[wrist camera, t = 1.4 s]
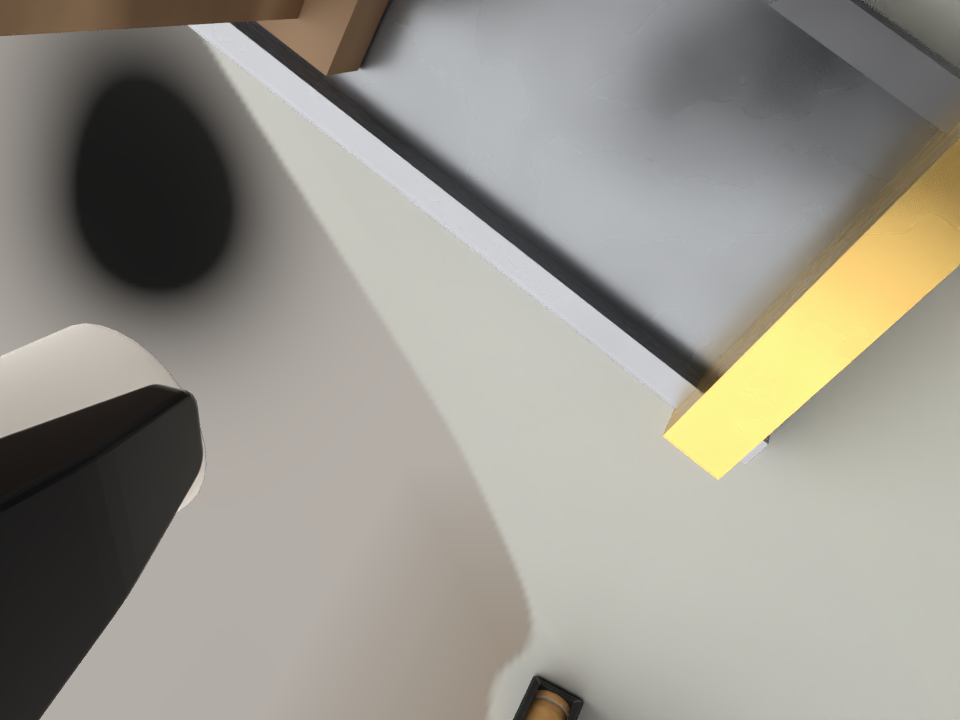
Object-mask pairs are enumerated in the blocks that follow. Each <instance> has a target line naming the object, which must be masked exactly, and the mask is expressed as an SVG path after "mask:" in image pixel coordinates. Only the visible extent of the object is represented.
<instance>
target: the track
mask: <svg viewBox="0 0 960 720" xmlns="http://www.w3.org/2000/svg"><path fill="white" fill-rule="evenodd" d="M188 26H189V27H190V28H192V29H193V30H194V31H195V32H197V33H198V34H199V35H200V36H202V37H203V38H204V39H206V40H207V41H208V42H209V43H211V44H212V45H213V46H214V47H216V48H217V49H218V50H219V51H221V52H222V53H223V54H225V55H226V56H227V57H228V58H230V59H231V60H232V61H233V62H235V63H236V64H237V65H239V66H240V67H241V68H242V69H244V70H245V71H246V72H247V73H249V74H250V75H251V76H252V77H254V78H255V79H256V80H258V81H259V82H260V83H261V84H263V85H264V86H265V87H266V88H268V89H269V90H270V91H271V92H273V93H274V94H275V95H277V96H278V97H279V98H280V99H282V100H283V101H284V102H285V103H287V104H288V105H289V106H291V107H292V108H293V109H294V110H296V111H297V112H298V113H299V114H301V115H302V116H303V117H304V118H306V119H307V120H308V121H310V122H311V123H312V124H313V125H315V126H316V127H317V128H318V129H320V130H321V131H322V132H324V133H325V134H326V135H327V136H329V137H330V138H331V139H332V140H334V141H335V142H336V143H337V144H339V145H340V146H341V147H343V148H344V149H345V150H346V151H348V152H349V153H350V154H351V155H353V156H354V157H355V158H357V159H358V160H359V161H360V162H362V163H363V164H364V165H365V166H367V167H368V168H369V169H370V170H372V171H373V172H374V173H376V174H377V175H378V176H379V177H381V178H382V179H383V180H384V181H386V182H387V183H388V184H390V185H391V186H392V187H393V188H395V189H396V190H397V191H398V192H400V193H401V194H402V195H403V196H405V197H406V198H407V199H409V200H410V201H411V202H412V203H414V204H415V205H416V206H417V207H419V208H420V209H421V210H423V211H424V212H425V213H426V214H428V215H429V216H430V217H431V218H433V219H434V220H435V221H436V222H438V223H439V224H440V225H442V226H443V227H444V228H445V229H447V230H448V231H449V232H450V233H452V234H453V235H454V236H456V237H457V238H458V239H459V240H461V241H462V242H463V243H464V244H466V245H467V246H468V247H469V248H471V249H472V250H473V251H475V252H476V253H477V254H478V255H480V256H481V257H482V258H483V259H485V260H486V261H487V262H489V263H490V264H491V265H492V266H494V267H495V268H496V269H497V270H499V271H500V272H501V273H502V274H504V275H505V276H506V277H508V278H509V279H510V280H511V281H513V282H514V283H515V284H516V285H518V286H519V287H520V288H522V289H523V290H524V291H525V292H527V293H528V294H529V295H530V296H532V297H533V298H534V299H535V300H537V301H538V302H539V303H541V304H542V305H543V306H544V307H546V308H547V309H548V310H549V311H551V312H552V313H553V314H555V315H556V316H557V317H558V318H560V319H561V320H562V321H563V322H565V323H566V324H567V325H568V326H570V327H571V328H572V329H574V330H575V331H576V332H577V333H579V334H580V335H581V336H582V337H584V338H585V339H586V340H588V341H589V342H590V343H591V344H593V345H594V346H595V347H596V348H598V349H599V350H600V351H601V352H603V353H604V354H605V355H607V356H608V357H609V358H610V359H612V360H613V361H614V362H615V363H617V364H618V365H619V366H621V367H622V368H623V369H624V370H626V371H627V372H628V373H629V374H631V375H632V376H633V377H634V378H636V379H637V380H638V381H640V382H641V383H642V384H643V385H645V386H646V387H647V388H648V389H650V390H651V391H652V392H654V393H655V394H656V395H657V396H659V397H660V398H661V399H662V400H664V401H665V402H666V403H667V404H669V405H670V406H671V407H673V408H674V411H673V413H672V416H671V418H670V420H669V423H668V425H667V427H666V429H665V432H664V434H663V437H664V438H666V439H667V440H668V441H669V442H671V443H672V444H673V445H674V446H676V447H677V448H678V449H679V450H681V451H682V452H683V453H685V454H686V455H687V456H688V457H690V458H691V459H692V460H693V461H695V462H696V463H697V464H698V465H700V466H701V467H702V468H703V469H705V470H706V471H707V472H709V473H710V474H711V475H712V476H714V477H715V478H716V479H717V480H719V479H720V478H721V477H722V476H723V475H725V474H726V473H727V472H728V471H729V470H730V469H731V468H732V467H734V466H735V465H736V464H737V463H738V462H739V461H741V462H742V463H744V464H746V463H748V462H749V461H750V460H751V459H752V458H753V457H754V456H755V455H757V454H758V453H759V452H760V451H761V450H762V449H763V448H765V447H766V446H767V445H768V442H769V437H770V434H771V433H772V432H773V431H774V430H775V429H776V428H777V427H778V426H780V425H781V424H782V423H783V422H784V421H785V420H786V419H787V418H789V417H790V416H791V415H792V414H793V413H794V412H795V411H796V410H798V409H799V408H800V407H801V406H802V405H803V404H804V403H805V402H806V401H808V400H809V399H810V398H811V397H812V396H813V395H814V394H815V393H817V392H818V391H819V390H820V389H821V388H822V387H823V386H824V385H826V384H827V383H828V382H829V381H830V380H831V379H832V378H833V377H835V376H836V375H837V374H838V373H839V372H840V371H841V370H842V369H844V368H845V367H846V366H847V365H848V364H849V363H850V362H851V361H852V360H854V359H855V358H856V357H857V356H858V355H859V354H860V353H861V352H863V351H864V350H865V349H866V348H867V347H868V346H869V345H870V344H872V343H873V342H874V341H875V340H876V339H877V338H878V337H879V336H881V335H882V334H883V333H884V332H885V331H886V330H887V329H888V328H890V327H891V326H892V325H893V324H894V323H895V322H896V321H897V320H899V319H900V318H901V317H902V316H903V315H904V314H905V313H906V312H907V311H909V310H910V309H911V308H912V307H913V306H914V305H915V304H916V303H918V302H919V301H920V300H921V299H922V298H923V297H924V296H925V295H927V294H928V293H929V292H930V291H931V290H932V289H933V288H934V287H936V286H937V285H938V284H939V283H940V282H941V281H942V280H943V279H945V278H946V277H947V276H948V275H949V274H950V273H951V272H952V271H953V270H955V269H956V268H957V267H958V266H959V265H960V71H959V70H958V69H957V68H955V67H954V66H952V65H951V64H950V63H948V62H947V61H945V60H944V59H943V58H941V57H940V56H938V55H937V54H936V53H934V52H933V51H931V50H930V49H929V48H927V47H926V46H924V45H923V44H922V43H920V42H919V41H917V40H916V39H915V38H913V37H912V36H911V35H909V34H908V33H906V32H905V31H904V30H902V29H901V28H899V27H898V26H897V25H895V24H894V23H892V22H891V21H890V20H888V19H887V18H885V17H884V16H883V15H881V14H880V13H878V12H877V11H876V10H874V9H873V8H871V7H870V6H869V5H867V4H866V3H864V2H863V1H862V0H389V2H388V4H387V6H386V8H385V11H384V13H383V15H382V17H381V20H380V22H379V24H378V26H377V29H376V31H375V33H374V35H373V38H372V40H371V42H370V45H369V47H368V49H367V51H366V54H365V56H364V58H363V60H362V63H361V65H360V67H359V69H358V71H353V72H347V73H341V74H335V75H329V76H326V75H324V74H323V73H322V72H320V71H319V70H318V69H317V68H315V67H314V66H313V65H311V64H310V63H309V62H308V61H306V60H305V59H304V58H302V57H301V56H300V55H299V54H297V53H296V52H295V51H293V50H292V49H291V48H290V47H288V46H287V45H286V44H284V43H283V42H282V41H281V40H279V39H278V38H277V37H276V36H274V35H273V34H272V33H270V32H269V31H268V30H267V29H265V28H264V27H263V26H261V25H260V24H259V23H258V22H256V21H249V22H232V23H215V24H198V25H188Z"/></svg>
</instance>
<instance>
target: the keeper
mask: <svg viewBox="0 0 960 720" xmlns="http://www.w3.org/2000/svg"><path fill="white" fill-rule="evenodd" d="M388 2H389V0H0V36H8V35H24V34H25V35H26V34H44V33H61V32H77V31H93V30H94V31H95V30H112V29H128V28H146V27H162V26H180V25H198V24H215V23H232V22H249V21H256V22H258V23H259V24H260V25H261V26H263V27H264V28H265V29H267V30H268V31H269V32H270V33H272V34H273V35H274V36H276V37H277V38H278V39H279V40H281V41H282V42H283V43H284V44H286V45H287V46H288V47H290V48H291V49H292V50H293V51H295V52H296V53H297V54H299V55H300V56H301V57H302V58H304V59H305V60H306V61H308V62H309V63H310V64H311V65H313V66H314V67H315V68H317V69H318V70H319V71H320V72H322V73H323V74H324V75H326V76H329V75H335V74H341V73H347V72H353V71H358V69H359V67H360V65H361V63H362V60H363V58H364V56H365V54H366V51H367V49H368V47H369V45H370V42H371V40H372V38H373V35H374V33H375V31H376V29H377V26H378V24H379V22H380V20H381V17H382V15H383V13H384V11H385V8H386V6H387V4H388Z"/></svg>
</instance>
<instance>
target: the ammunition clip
mask: <svg viewBox="0 0 960 720" xmlns="http://www.w3.org/2000/svg"><path fill="white" fill-rule="evenodd" d="M582 706H583V702H582V701H581V700H579V699H577V698H575V697H573V696H572V695H570V694H568V693H566V692H564V691H562V690H560V689H558V688H557V687H555V686H553V685H551V684H549V683H547V682H545V681H543V680H542V679H540V678H538V677H534V676H533V678H532V681H531V683H530V685H529V687H528V689H527V691H526V693H525V695H524V697H523V700H522V702H521V704H520V706H519V708H518V710H517V712H516V714H515V717H514V719H513V720H577V719H578V716H579V714H580V711H581V708H582Z"/></svg>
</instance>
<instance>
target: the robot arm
mask: <svg viewBox="0 0 960 720" xmlns="http://www.w3.org/2000/svg"><path fill="white" fill-rule="evenodd" d="M202 461H203V446H202V438H201V430H200V422H199V414H198V406H197V401H196V399H195V398H194V396H193V394H191V393H190V392H188V391H186V390H182V389H178V388H174V387H170V386H166V385H162V384H152V385H148V386H145V387H142V388H140V389H137V390H134V391H131V392H128V393H126V394H123V395H120V396H117V397H114V398H111V399H109V400H106V401H103V402H100V403H97V404H95V405H92V406H89V407H86V408H83V409H80V410H78V411H75V412H72V413H69V414H66V415H63V416H61V417H58V418H55V419H52V420H49V421H47V422H44V423H41V424H38V425H35V426H32V427H30V428H27V429H24V430H21V431H18V432H15V433H13V434H10V435H7V436H4V437H1V438H0V720H39V719H40V718H41V717H42V715H43V714H44V712H45V711H46V710H47V708H48V707H49V705H50V704H51V703H52V701H53V700H54V699H55V697H56V696H57V694H58V693H59V692H60V690H61V689H62V687H63V686H64V685H65V683H66V682H67V680H68V679H69V678H70V676H71V675H72V674H73V672H74V671H75V669H76V668H77V667H78V665H79V664H80V663H81V661H82V660H83V658H84V657H85V656H86V654H87V653H88V651H89V650H90V649H91V647H92V646H93V644H94V643H95V642H96V640H97V639H98V638H99V636H100V635H101V633H102V632H103V631H104V629H105V628H106V626H107V625H108V624H109V622H110V621H111V620H112V618H113V617H114V615H115V614H116V612H117V611H118V609H119V608H120V607H121V605H122V604H123V602H124V600H125V599H126V598H127V596H128V595H129V593H130V591H131V590H132V588H133V587H134V585H135V583H136V582H137V580H138V578H139V577H140V575H141V573H142V572H143V570H144V568H145V566H146V564H147V563H148V561H149V559H150V558H151V556H152V554H153V552H154V551H155V549H156V547H157V545H158V543H159V542H160V540H161V539H162V537H163V535H164V533H165V531H166V530H167V528H168V526H169V524H170V523H171V521H172V519H173V518H174V516H175V514H176V512H177V511H178V509H179V507H180V505H181V504H182V502H183V500H184V498H185V497H186V495H187V493H188V491H189V490H190V488H191V486H192V485H193V483H194V481H195V479H196V478H197V476H198V473H199V471H200V468H201V465H202Z"/></svg>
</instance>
